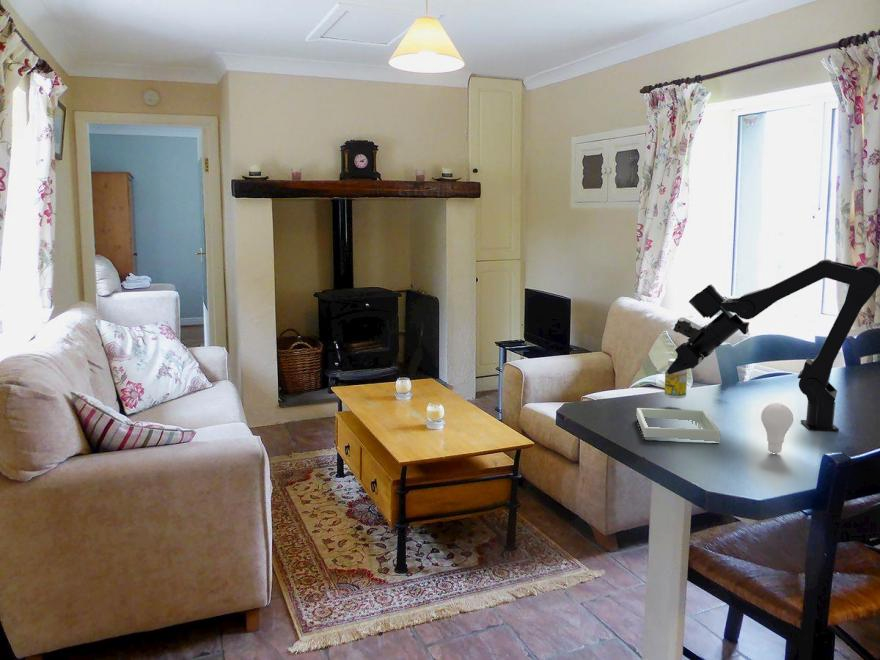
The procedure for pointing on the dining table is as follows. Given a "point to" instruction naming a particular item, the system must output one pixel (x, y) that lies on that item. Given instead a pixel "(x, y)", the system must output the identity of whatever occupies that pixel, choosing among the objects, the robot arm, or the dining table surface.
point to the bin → (699, 416)
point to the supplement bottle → (675, 383)
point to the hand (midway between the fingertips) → (670, 370)
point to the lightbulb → (776, 425)
